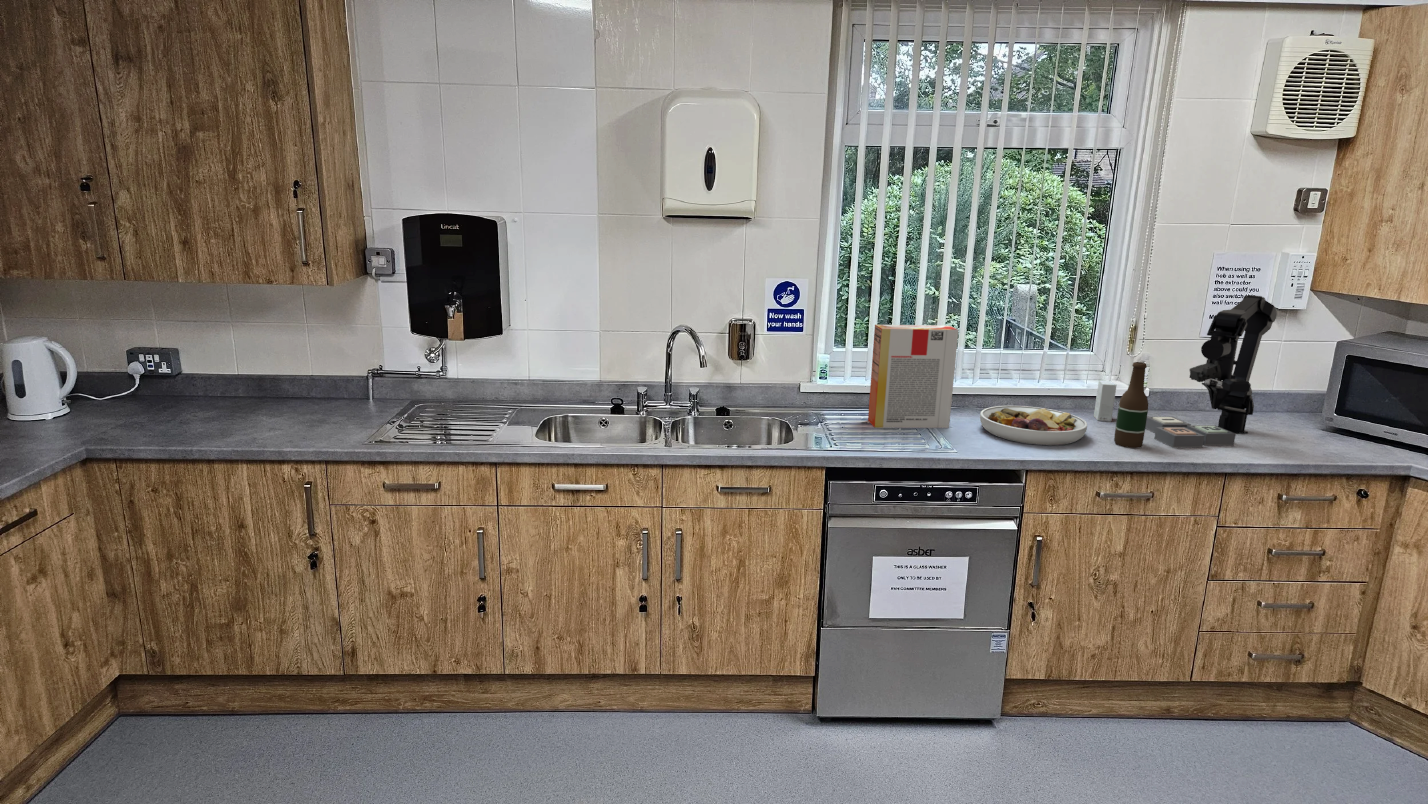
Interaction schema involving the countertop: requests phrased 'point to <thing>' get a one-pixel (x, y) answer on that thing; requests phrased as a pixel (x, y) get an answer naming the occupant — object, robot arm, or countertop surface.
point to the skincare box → (1105, 400)
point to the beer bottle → (1132, 411)
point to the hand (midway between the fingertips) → (1214, 408)
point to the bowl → (1033, 425)
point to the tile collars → (1188, 440)
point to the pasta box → (912, 376)
